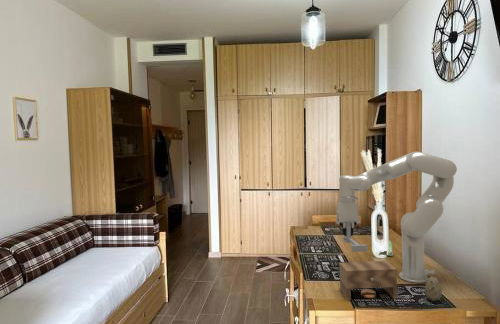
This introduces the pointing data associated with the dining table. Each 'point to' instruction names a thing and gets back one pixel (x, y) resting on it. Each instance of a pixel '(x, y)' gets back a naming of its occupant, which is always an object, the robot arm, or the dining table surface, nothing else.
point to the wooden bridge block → (368, 277)
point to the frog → (390, 249)
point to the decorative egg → (433, 289)
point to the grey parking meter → (347, 239)
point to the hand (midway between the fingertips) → (347, 235)
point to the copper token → (368, 293)
